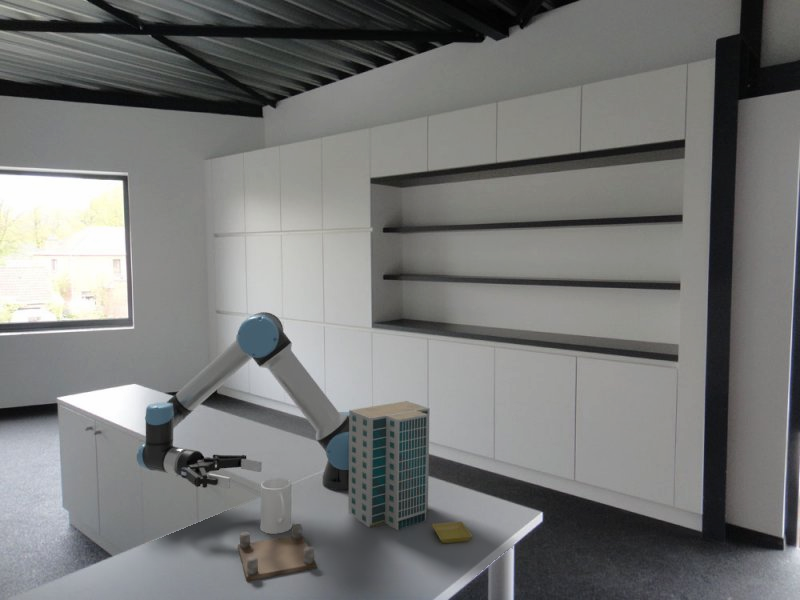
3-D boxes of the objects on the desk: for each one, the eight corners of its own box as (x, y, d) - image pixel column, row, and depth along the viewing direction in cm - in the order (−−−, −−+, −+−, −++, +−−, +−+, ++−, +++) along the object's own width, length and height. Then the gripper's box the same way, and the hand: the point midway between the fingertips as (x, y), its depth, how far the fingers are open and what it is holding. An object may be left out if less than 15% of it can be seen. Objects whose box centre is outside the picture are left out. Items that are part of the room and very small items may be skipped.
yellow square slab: (472, 543, 148) (472, 535, 147) (440, 546, 146) (440, 538, 146) (461, 528, 156) (462, 521, 156) (431, 531, 154) (431, 524, 154)
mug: (297, 536, 150) (297, 491, 149) (264, 542, 146) (264, 496, 146) (288, 518, 160) (288, 476, 160) (257, 522, 157) (257, 479, 157)
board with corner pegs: (301, 537, 149) (301, 522, 149) (316, 567, 134) (316, 551, 134) (237, 548, 143) (237, 532, 143) (246, 581, 128) (246, 563, 128)
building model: (381, 535, 151) (382, 422, 149) (348, 513, 164) (349, 410, 162) (440, 516, 163) (441, 412, 161) (405, 497, 176) (406, 400, 175)
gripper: (214, 462, 176) (272, 473, 168) (150, 490, 153) (214, 505, 145) (214, 438, 176) (272, 448, 168) (150, 462, 153) (214, 475, 145)
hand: (245, 474), depth 156 cm, fingers open, 13 cm apart
